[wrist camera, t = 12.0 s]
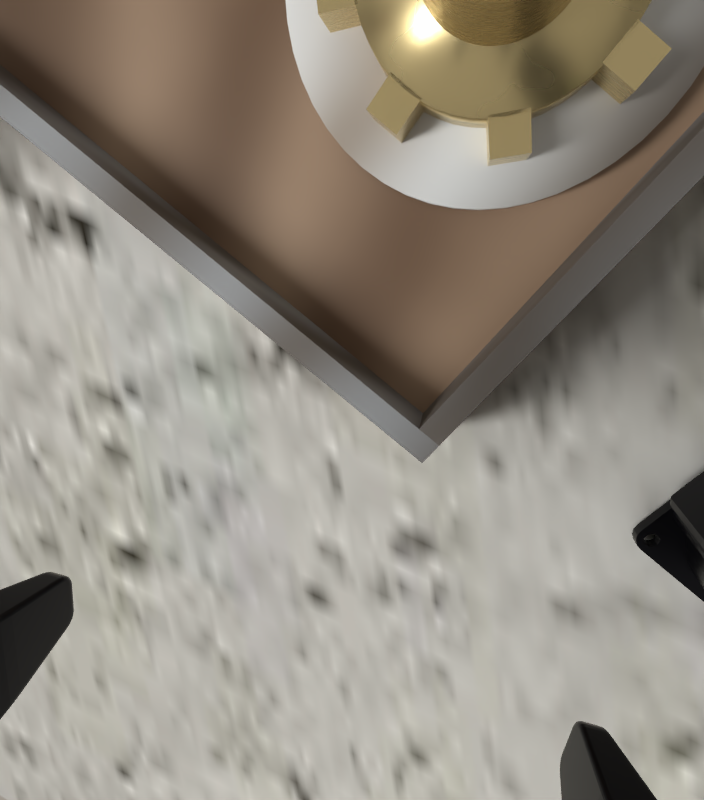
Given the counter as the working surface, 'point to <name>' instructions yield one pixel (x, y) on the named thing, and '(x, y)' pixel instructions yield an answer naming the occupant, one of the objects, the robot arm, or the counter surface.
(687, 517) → the robot arm
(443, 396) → the wooden serving tray
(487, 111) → the gear
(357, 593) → the counter surface
